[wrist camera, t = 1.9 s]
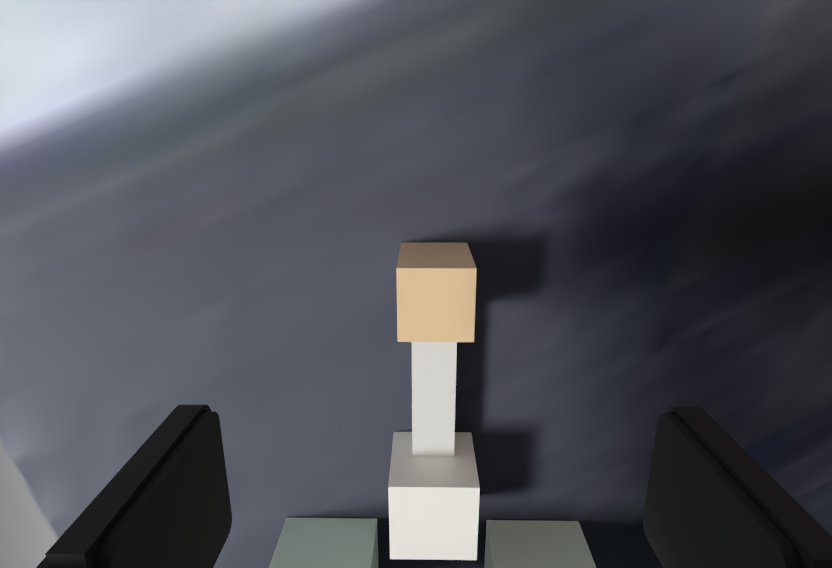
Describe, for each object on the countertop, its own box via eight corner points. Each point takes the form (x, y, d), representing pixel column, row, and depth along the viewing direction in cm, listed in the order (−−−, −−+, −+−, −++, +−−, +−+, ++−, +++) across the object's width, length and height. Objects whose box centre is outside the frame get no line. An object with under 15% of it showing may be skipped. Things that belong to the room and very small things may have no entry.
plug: (390, 242, 23) (383, 268, 19) (478, 242, 23) (490, 268, 19) (394, 495, 27) (389, 562, 23) (468, 496, 27) (477, 563, 23)
